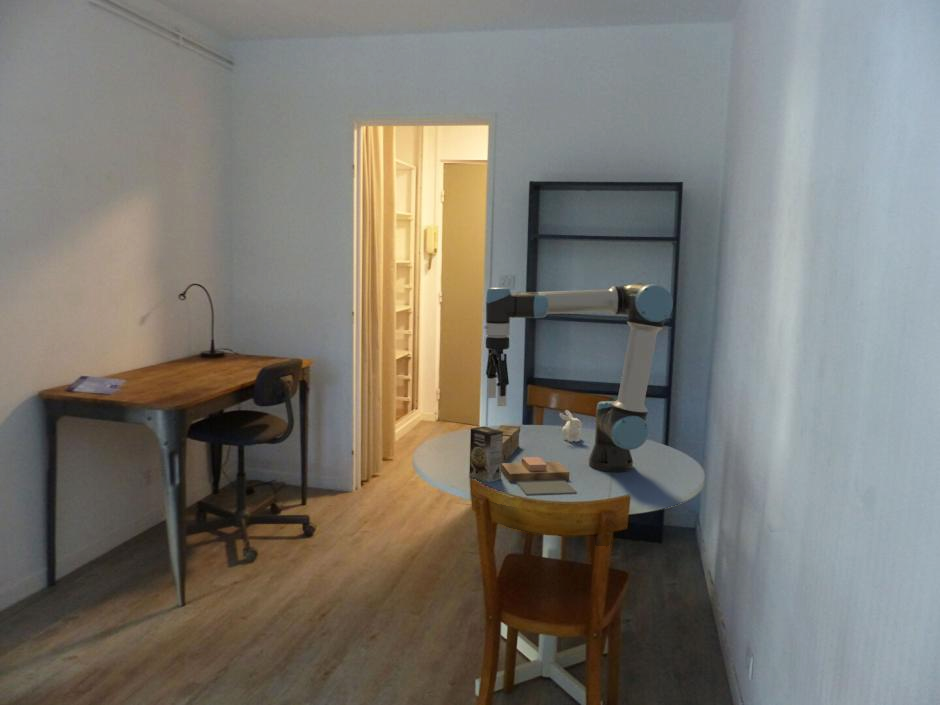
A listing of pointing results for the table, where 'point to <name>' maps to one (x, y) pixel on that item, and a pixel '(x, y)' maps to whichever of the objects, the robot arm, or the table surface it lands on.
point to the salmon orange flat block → (534, 463)
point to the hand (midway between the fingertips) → (496, 401)
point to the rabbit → (571, 427)
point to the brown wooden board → (534, 472)
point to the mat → (545, 487)
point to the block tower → (509, 440)
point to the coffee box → (486, 453)
